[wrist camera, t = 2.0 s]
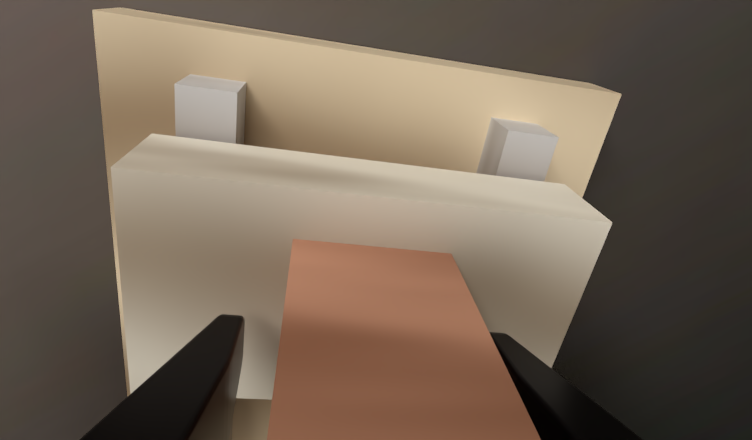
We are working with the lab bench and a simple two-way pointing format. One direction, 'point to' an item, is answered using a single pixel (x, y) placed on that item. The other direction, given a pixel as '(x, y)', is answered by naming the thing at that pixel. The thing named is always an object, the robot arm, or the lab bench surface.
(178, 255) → the slider
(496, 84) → the press bed
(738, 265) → the lab bench surface
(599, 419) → the robot arm
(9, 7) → the lab bench surface
